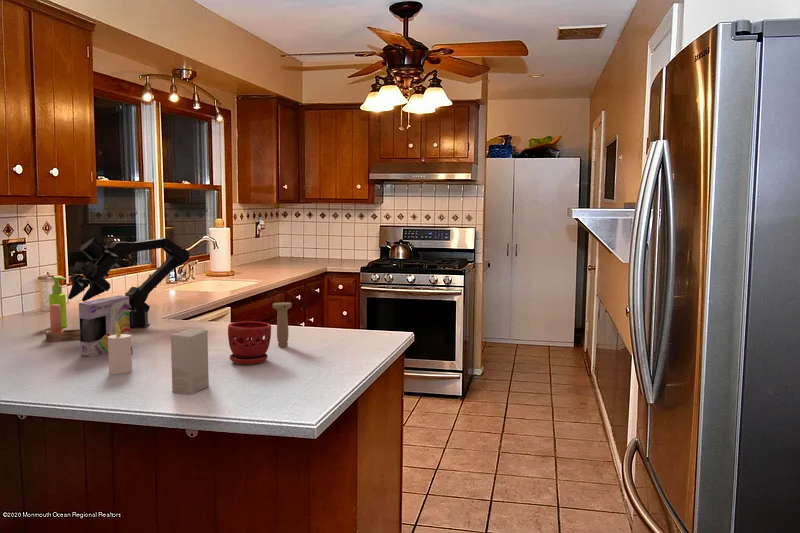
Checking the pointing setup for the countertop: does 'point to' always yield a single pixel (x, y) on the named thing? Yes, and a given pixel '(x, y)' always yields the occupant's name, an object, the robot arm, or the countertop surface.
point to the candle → (120, 352)
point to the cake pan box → (102, 323)
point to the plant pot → (249, 341)
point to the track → (63, 335)
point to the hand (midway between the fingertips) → (75, 299)
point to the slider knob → (55, 319)
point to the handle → (282, 322)
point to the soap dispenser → (59, 299)
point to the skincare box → (189, 361)
